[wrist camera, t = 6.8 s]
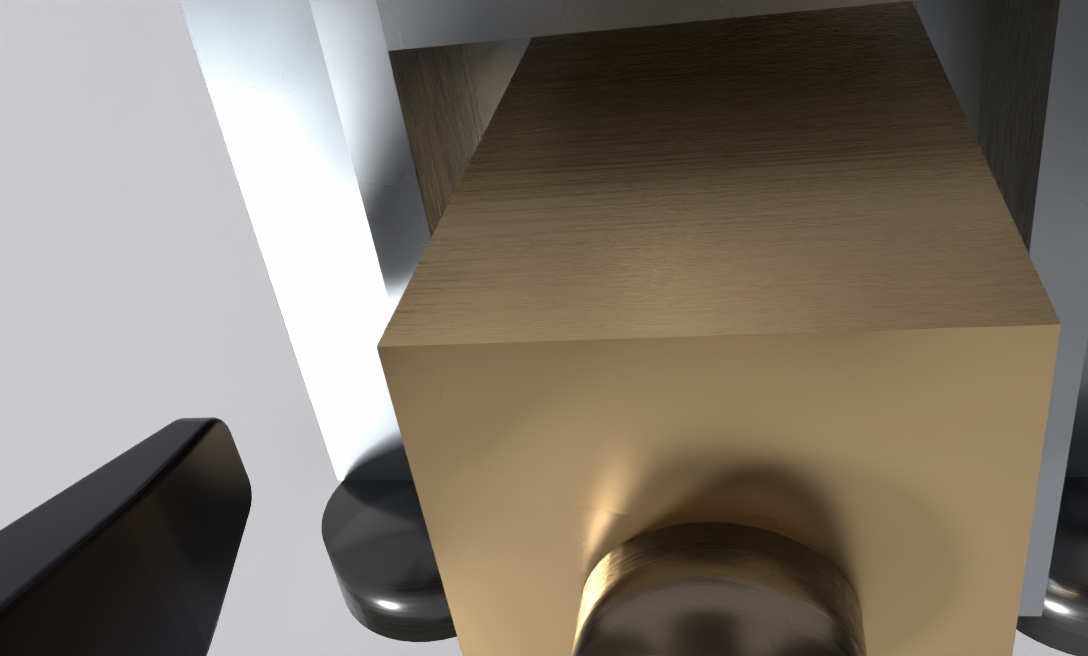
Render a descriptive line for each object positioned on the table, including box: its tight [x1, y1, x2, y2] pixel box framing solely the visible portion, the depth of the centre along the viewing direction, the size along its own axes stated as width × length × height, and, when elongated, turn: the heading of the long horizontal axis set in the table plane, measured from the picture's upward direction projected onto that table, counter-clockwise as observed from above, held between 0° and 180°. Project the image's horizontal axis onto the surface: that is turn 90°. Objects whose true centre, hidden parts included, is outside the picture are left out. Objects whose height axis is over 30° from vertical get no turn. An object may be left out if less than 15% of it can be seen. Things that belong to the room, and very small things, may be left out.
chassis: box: [179, 0, 1088, 656], centre depth 12 cm, size 12×10×4 cm
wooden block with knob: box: [376, 2, 1061, 656], centre depth 10 cm, size 4×5×7 cm
